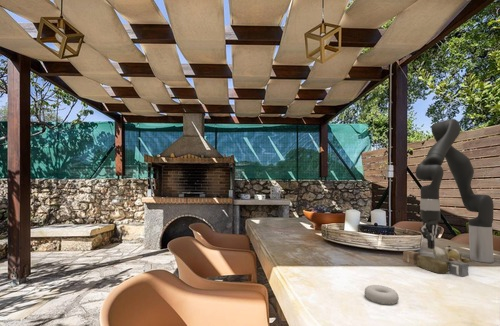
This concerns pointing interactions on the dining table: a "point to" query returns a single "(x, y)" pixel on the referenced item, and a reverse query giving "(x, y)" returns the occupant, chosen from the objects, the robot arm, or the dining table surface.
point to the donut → (381, 294)
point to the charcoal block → (458, 268)
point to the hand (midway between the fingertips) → (431, 248)
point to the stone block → (432, 264)
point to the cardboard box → (410, 257)
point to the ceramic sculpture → (448, 254)
